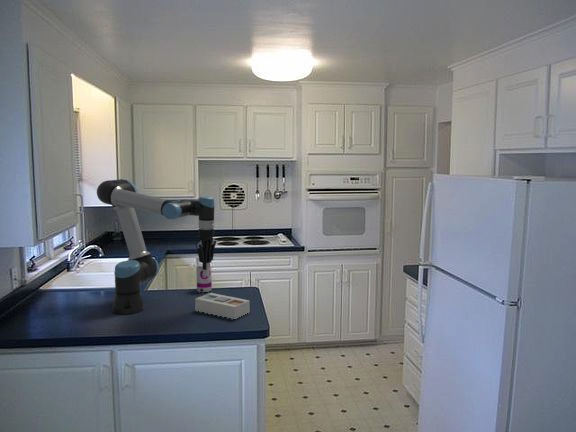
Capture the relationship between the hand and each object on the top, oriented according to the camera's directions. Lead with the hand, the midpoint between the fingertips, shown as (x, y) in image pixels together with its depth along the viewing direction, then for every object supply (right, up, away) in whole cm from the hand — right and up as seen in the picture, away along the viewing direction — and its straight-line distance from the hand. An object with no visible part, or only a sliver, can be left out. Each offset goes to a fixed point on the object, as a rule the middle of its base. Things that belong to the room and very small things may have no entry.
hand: (206, 275), depth 238 cm
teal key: (+1, -16, +1) cm, 16 cm away
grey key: (+8, -15, -3) cm, 17 cm away
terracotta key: (+15, -17, -7) cm, 24 cm away
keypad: (+8, -17, -3) cm, 19 cm away
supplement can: (-7, -13, +33) cm, 36 cm away
